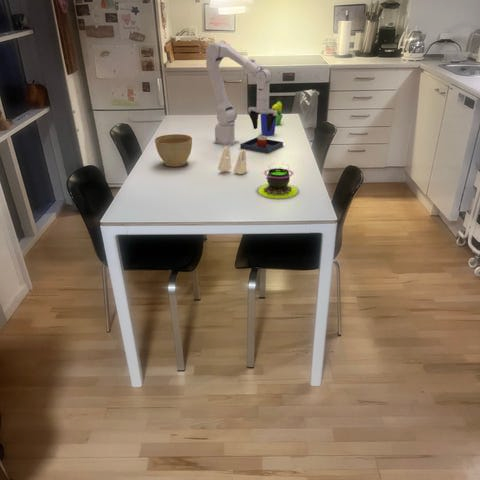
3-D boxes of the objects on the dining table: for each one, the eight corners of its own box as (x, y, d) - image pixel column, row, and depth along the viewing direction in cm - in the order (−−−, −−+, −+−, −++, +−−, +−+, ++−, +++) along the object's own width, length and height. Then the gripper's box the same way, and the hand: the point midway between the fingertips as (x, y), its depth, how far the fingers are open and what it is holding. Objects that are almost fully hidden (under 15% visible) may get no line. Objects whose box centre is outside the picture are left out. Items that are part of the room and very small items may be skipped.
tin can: (255, 147, 230) (255, 136, 227) (260, 145, 233) (260, 134, 230) (263, 149, 228) (263, 138, 225) (268, 146, 231) (268, 136, 228)
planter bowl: (198, 159, 216) (197, 135, 209) (185, 171, 203) (184, 145, 197) (165, 157, 219) (163, 132, 213) (151, 168, 206) (148, 142, 200)
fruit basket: (263, 121, 273) (263, 100, 267) (277, 120, 275) (278, 99, 269) (270, 126, 264) (270, 104, 258) (284, 125, 266) (285, 103, 260)
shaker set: (217, 173, 200) (216, 146, 193) (219, 170, 203) (218, 144, 197) (245, 175, 198) (245, 148, 192) (246, 171, 202) (247, 145, 195)
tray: (240, 148, 229) (240, 144, 228) (256, 142, 239) (256, 137, 237) (267, 154, 222) (267, 149, 221) (282, 146, 232) (283, 141, 230)
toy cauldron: (273, 181, 192) (274, 154, 185) (304, 190, 184) (307, 161, 177) (250, 192, 182) (250, 163, 176) (282, 201, 175) (283, 171, 168)
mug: (276, 130, 256) (277, 111, 250) (275, 136, 246) (276, 116, 241) (261, 130, 257) (261, 110, 251) (259, 136, 247) (260, 116, 241)
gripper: (281, 99, 217) (279, 130, 225) (254, 95, 224) (253, 125, 232) (273, 101, 212) (272, 133, 220) (246, 98, 219) (245, 129, 227)
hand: (262, 129), depth 226 cm, fingers open, 7 cm apart
